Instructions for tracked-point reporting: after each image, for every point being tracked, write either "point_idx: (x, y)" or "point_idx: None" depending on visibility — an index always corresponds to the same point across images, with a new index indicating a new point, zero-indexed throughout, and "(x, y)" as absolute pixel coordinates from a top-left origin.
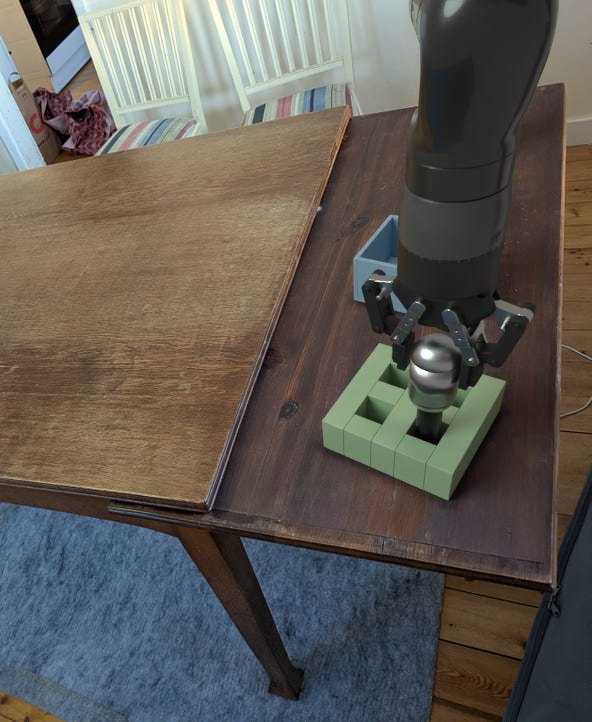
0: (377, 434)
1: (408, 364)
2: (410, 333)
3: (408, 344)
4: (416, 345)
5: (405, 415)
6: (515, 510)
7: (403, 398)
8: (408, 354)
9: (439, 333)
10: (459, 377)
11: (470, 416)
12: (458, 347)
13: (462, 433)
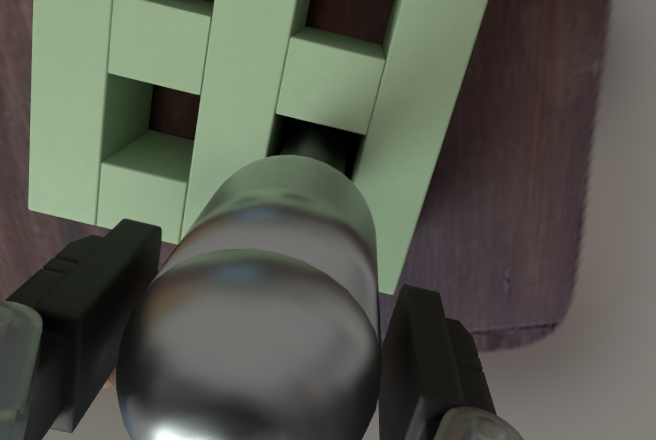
0: (187, 220)
1: (155, 267)
2: (53, 365)
3: (85, 382)
4: (125, 424)
5: (240, 131)
6: (521, 226)
7: (215, 60)
8: (124, 319)
9: (219, 351)
10: (380, 417)
11: (419, 87)
12: (351, 414)
13: (403, 161)
